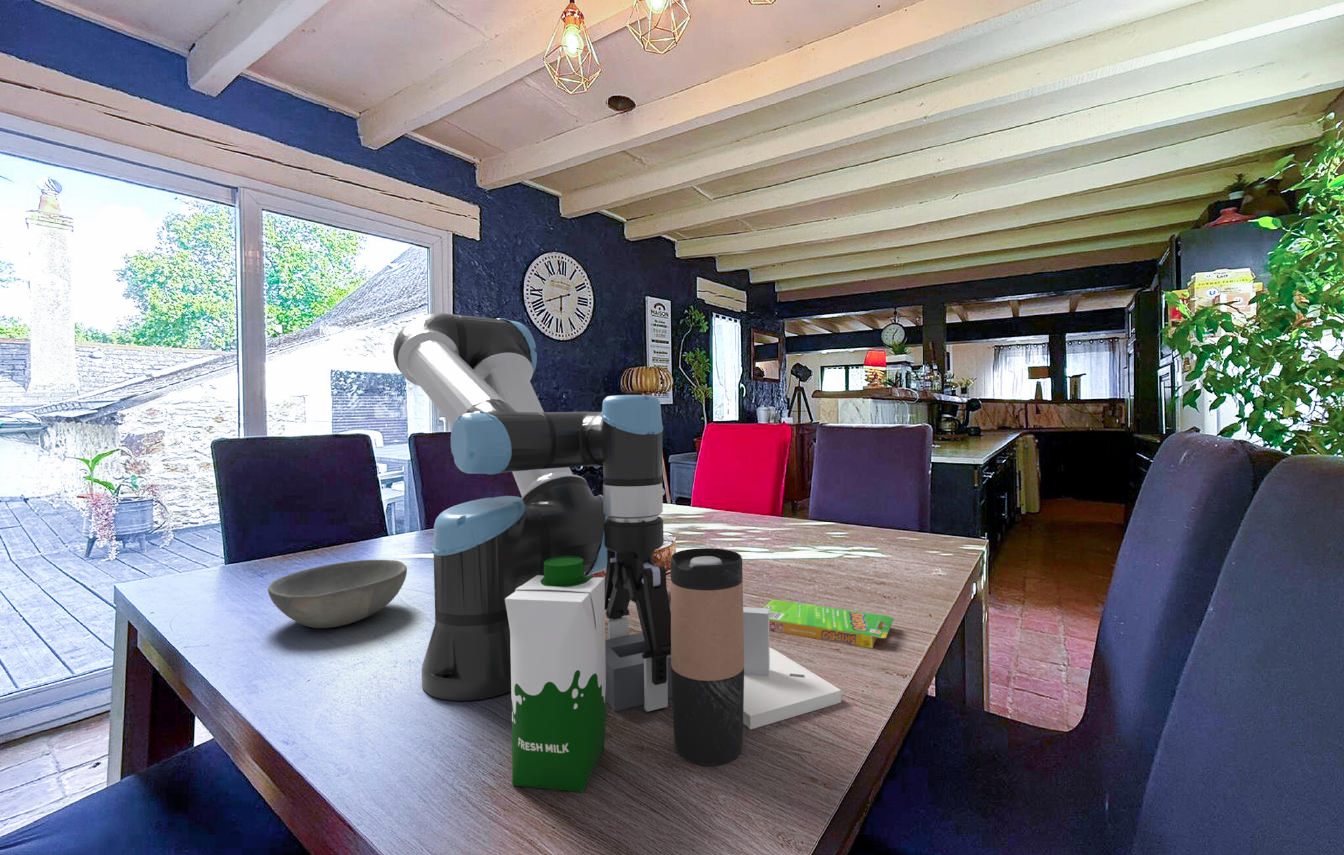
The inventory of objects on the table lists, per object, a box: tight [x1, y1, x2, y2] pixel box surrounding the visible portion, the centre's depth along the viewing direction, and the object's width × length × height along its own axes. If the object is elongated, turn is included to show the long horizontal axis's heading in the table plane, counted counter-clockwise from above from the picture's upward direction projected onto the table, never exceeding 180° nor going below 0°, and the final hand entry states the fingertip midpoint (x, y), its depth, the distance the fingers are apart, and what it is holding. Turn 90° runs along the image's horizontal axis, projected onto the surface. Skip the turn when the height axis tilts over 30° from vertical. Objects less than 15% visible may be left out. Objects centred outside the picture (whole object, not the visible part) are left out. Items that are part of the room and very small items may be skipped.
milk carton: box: [505, 556, 607, 793], centre depth 57 cm, size 9×9×20 cm
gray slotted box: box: [605, 632, 672, 713], centre depth 73 cm, size 9×9×5 cm
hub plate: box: [743, 606, 842, 730], centre depth 74 cm, size 13×18×10 cm
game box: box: [763, 599, 895, 649], centre depth 93 cm, size 3×10×20 cm
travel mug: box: [670, 547, 744, 767], centre depth 60 cm, size 8×8×20 cm
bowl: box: [267, 559, 408, 629], centre depth 100 cm, size 21×21×8 cm
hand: (636, 685), depth 73 cm, fingers open, 12 cm apart
